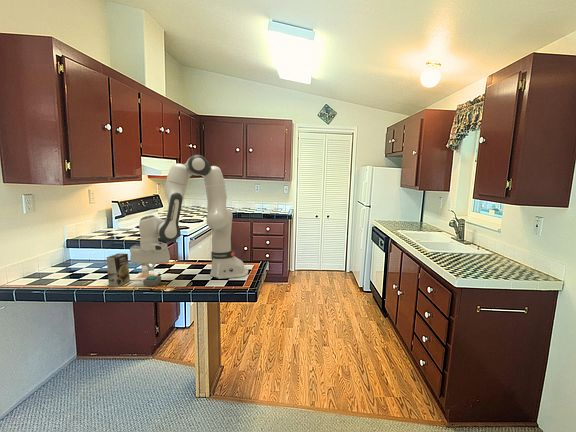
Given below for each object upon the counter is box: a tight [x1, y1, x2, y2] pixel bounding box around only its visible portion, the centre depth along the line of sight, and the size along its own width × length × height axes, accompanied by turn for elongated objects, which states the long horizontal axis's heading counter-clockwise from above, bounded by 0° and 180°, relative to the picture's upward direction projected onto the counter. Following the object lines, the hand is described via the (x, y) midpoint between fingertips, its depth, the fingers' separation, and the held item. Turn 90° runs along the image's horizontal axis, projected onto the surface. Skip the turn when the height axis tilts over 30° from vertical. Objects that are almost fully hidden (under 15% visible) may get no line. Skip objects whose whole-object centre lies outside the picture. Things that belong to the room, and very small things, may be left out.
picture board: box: [130, 272, 161, 282], centre depth 182 cm, size 12×12×1 cm
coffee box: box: [106, 253, 131, 288], centre depth 171 cm, size 9×6×16 cm
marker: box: [140, 263, 150, 277], centre depth 181 cm, size 4×4×9 cm
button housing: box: [142, 275, 162, 287], centre depth 171 cm, size 7×7×3 cm
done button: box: [148, 275, 156, 280], centre depth 171 cm, size 4×4×2 cm
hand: (151, 270), depth 171 cm, fingers closed
